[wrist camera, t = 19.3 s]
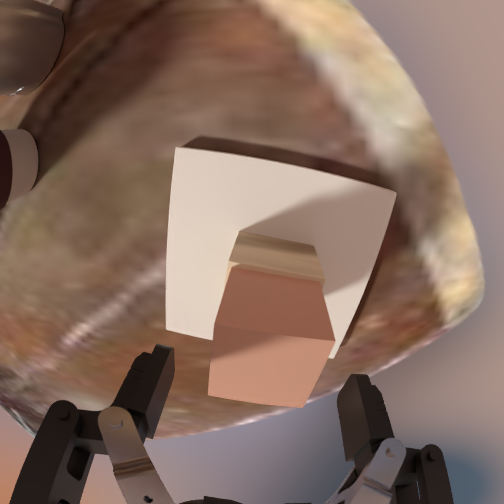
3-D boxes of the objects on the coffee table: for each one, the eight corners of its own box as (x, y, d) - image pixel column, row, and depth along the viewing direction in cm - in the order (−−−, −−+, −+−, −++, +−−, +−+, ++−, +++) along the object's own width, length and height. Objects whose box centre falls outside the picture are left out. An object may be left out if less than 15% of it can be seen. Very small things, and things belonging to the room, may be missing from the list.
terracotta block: (231, 267, 15) (214, 323, 10) (319, 282, 15) (335, 341, 10) (222, 334, 17) (207, 394, 12) (298, 346, 17) (302, 407, 12)
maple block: (239, 231, 19) (228, 261, 15) (314, 245, 20) (325, 279, 15) (228, 295, 22) (217, 335, 17) (295, 307, 22) (299, 349, 17)
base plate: (181, 146, 18) (175, 147, 17) (390, 189, 18) (397, 193, 17) (169, 321, 25) (166, 329, 24) (331, 350, 25) (333, 358, 24)
